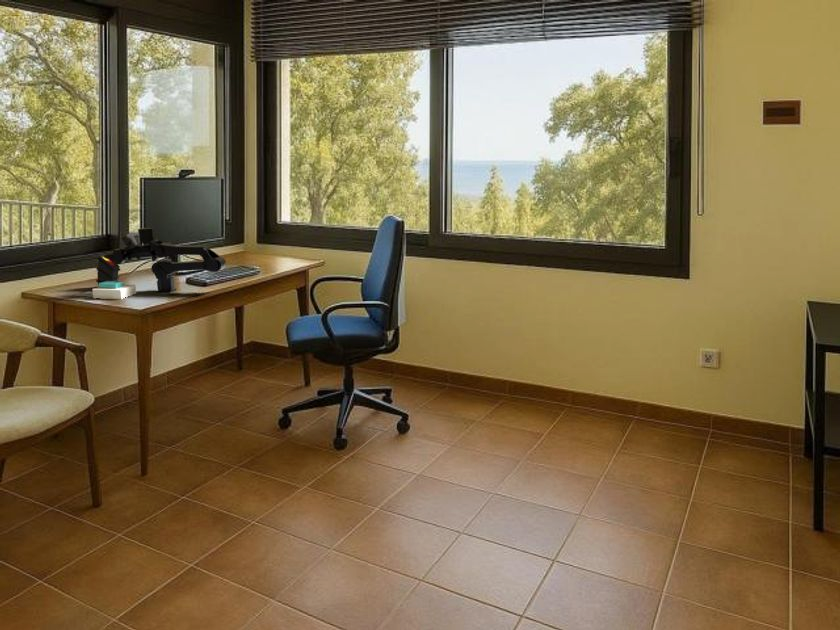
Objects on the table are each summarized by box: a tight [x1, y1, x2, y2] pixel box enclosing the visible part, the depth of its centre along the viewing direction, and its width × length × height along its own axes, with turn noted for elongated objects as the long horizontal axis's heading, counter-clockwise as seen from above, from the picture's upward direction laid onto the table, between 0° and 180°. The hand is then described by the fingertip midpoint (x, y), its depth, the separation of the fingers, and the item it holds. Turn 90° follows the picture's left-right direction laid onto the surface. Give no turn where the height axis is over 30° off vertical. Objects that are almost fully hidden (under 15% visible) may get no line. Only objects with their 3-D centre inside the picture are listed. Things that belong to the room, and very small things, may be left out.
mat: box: [75, 291, 93, 298], centre depth 326 cm, size 10×9×1 cm
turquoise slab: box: [99, 280, 125, 289], centre depth 321 cm, size 8×6×2 cm
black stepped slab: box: [96, 254, 121, 288], centre depth 339 cm, size 4×13×15 cm
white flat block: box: [91, 283, 137, 300], centre depth 323 cm, size 13×12×4 cm
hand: (109, 254), depth 332 cm, fingers open, 9 cm apart
